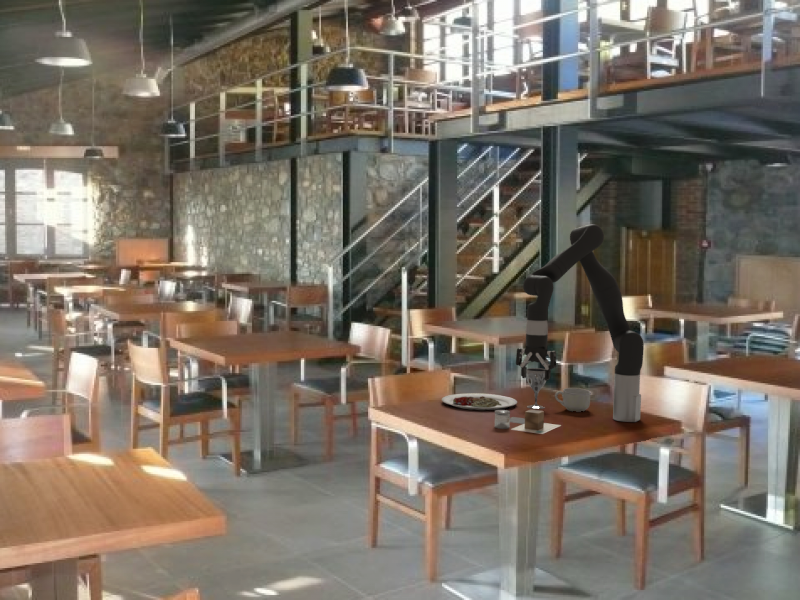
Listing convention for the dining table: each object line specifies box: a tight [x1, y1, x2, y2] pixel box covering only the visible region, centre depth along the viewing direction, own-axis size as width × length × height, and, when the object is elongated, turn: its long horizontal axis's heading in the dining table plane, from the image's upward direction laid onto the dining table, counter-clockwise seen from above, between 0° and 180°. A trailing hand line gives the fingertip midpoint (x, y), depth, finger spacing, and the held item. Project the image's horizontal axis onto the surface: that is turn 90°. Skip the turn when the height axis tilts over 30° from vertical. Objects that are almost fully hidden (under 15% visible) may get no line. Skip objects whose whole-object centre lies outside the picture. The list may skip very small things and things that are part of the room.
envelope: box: [510, 422, 562, 435], centre depth 321 cm, size 12×17×1 cm
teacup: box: [554, 387, 592, 413], centre depth 355 cm, size 14×11×8 cm
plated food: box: [441, 392, 518, 411], centre depth 364 cm, size 30×30×3 cm
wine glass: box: [526, 367, 547, 410], centre depth 359 cm, size 8×8×15 cm
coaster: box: [510, 416, 525, 425], centre depth 332 cm, size 9×9×1 cm
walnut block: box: [524, 408, 545, 430], centre depth 319 cm, size 5×5×6 cm
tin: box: [494, 409, 511, 430], centre depth 320 cm, size 5×5×6 cm
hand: (535, 379), depth 318 cm, fingers open, 8 cm apart
